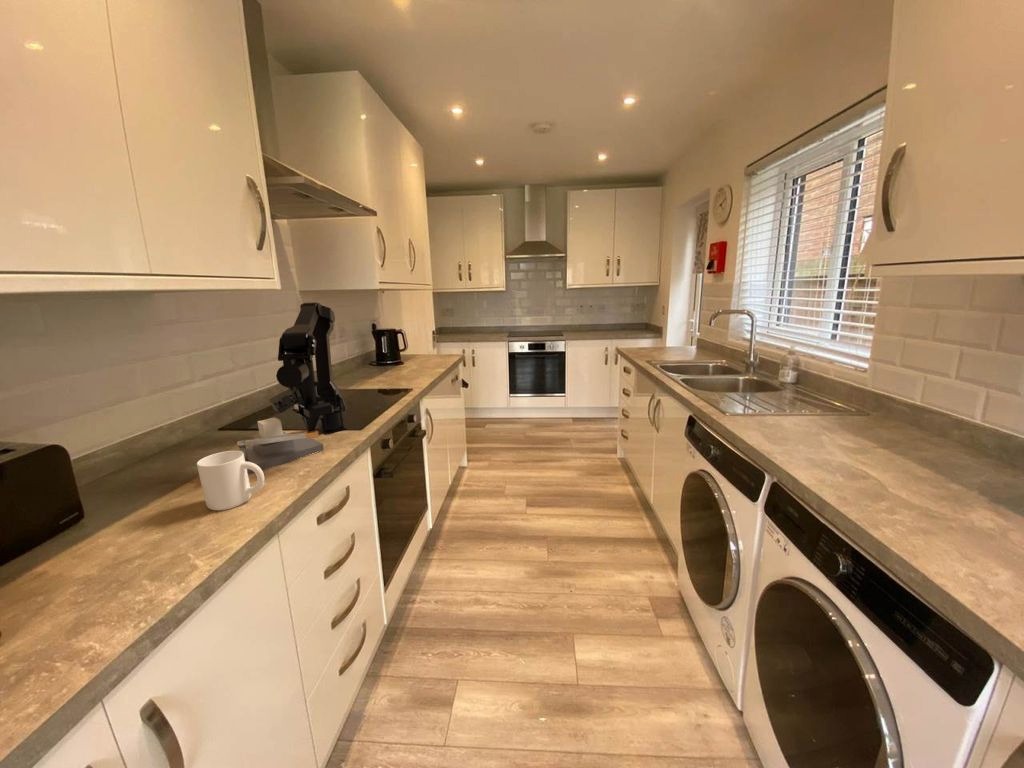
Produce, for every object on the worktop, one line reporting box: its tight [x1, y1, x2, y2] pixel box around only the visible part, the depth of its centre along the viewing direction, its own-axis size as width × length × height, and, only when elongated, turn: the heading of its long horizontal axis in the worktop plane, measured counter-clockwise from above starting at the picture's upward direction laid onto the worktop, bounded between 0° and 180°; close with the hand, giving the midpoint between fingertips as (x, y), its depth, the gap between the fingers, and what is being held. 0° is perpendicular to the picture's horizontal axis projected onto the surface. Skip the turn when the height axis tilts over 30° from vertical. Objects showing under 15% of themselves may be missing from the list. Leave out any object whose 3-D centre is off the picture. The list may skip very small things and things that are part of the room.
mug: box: [196, 450, 265, 512], centre depth 88 cm, size 12×8×10 cm
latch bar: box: [236, 430, 319, 448], centre depth 108 cm, size 19×2×1 cm, turn 110°
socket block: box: [237, 437, 325, 476], centre depth 113 cm, size 20×15×6 cm
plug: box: [253, 417, 289, 445], centre depth 113 cm, size 7×7×8 cm
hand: (311, 433), depth 112 cm, fingers closed
